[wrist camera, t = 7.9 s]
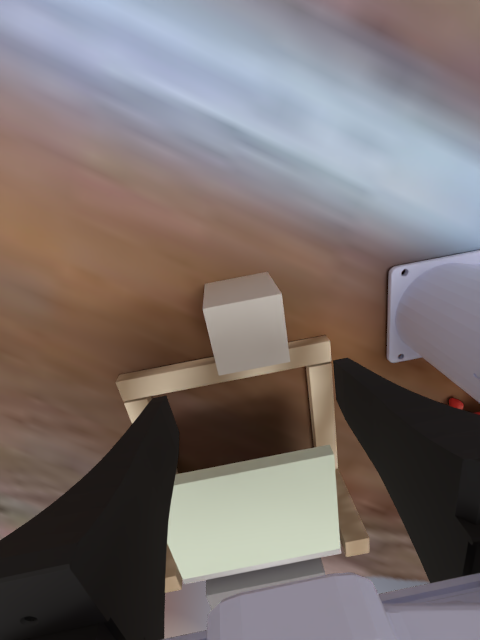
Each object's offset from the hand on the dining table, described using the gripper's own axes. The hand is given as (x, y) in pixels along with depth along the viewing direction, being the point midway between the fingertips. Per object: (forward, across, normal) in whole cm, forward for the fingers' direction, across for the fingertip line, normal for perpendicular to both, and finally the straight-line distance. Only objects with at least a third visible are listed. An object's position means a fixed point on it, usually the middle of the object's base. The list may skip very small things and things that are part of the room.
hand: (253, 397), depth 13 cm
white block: (+10, 0, 0) cm, 11 cm away
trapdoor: (+5, +2, +15) cm, 15 cm away
